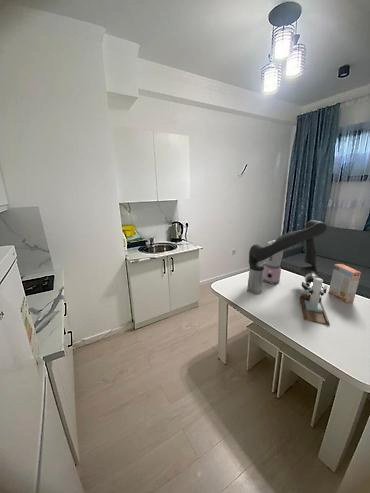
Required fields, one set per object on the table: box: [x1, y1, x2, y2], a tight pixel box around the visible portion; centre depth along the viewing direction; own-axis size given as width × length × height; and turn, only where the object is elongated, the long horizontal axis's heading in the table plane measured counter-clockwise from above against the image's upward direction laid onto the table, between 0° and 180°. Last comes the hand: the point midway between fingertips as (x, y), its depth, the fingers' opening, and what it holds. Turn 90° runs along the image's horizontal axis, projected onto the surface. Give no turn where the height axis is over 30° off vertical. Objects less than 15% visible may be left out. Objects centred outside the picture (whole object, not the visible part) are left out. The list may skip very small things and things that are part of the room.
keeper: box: [304, 277, 324, 313], centre depth 119 cm, size 8×8×18 cm
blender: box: [263, 239, 284, 285], centre depth 152 cm, size 16×12×32 cm
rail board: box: [299, 293, 331, 326], centre depth 121 cm, size 12×24×4 cm, turn 157°
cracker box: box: [328, 263, 362, 304], centre depth 131 cm, size 14×6×21 cm, turn 4°
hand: (316, 293), depth 116 cm, fingers closed on keeper, 4 cm apart
